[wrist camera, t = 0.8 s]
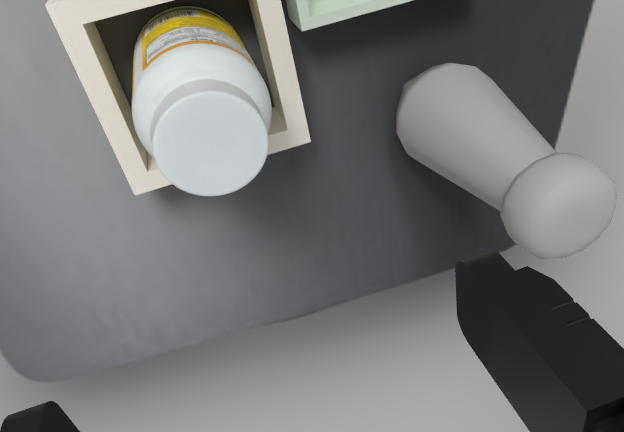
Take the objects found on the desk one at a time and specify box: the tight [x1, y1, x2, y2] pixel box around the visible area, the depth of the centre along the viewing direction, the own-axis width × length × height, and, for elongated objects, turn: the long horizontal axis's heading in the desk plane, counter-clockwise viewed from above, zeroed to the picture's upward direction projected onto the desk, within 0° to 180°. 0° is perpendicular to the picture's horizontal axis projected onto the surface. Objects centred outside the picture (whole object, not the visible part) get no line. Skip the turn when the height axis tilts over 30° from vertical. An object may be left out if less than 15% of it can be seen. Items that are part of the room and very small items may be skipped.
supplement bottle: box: [132, 6, 272, 196], centre depth 22 cm, size 5×5×10 cm
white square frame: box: [45, 0, 311, 195], centre depth 24 cm, size 9×9×3 cm
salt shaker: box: [396, 63, 617, 259], centre depth 25 cm, size 6×6×13 cm
